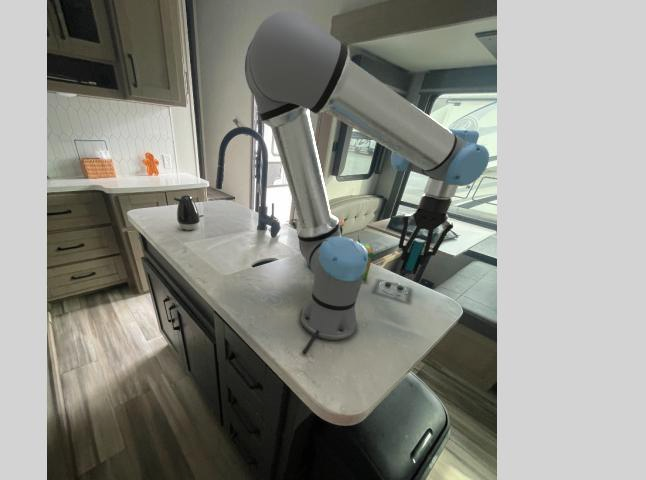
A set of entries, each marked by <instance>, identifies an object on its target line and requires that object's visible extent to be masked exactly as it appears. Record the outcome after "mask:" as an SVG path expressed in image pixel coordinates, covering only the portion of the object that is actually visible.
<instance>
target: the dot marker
mask: <svg viewBox="0 0 646 480" xmlns="http://www.w3.org/2000/svg"><path fill="white" fill-rule="evenodd" d="M425 245H426V240H425V239H422V238H415V239H414V241H413V242H412V244H411V246H410V248H409V250H410V253H409V255H408V258H407V260H406V263H405V266H404V268H403V271H402V273H404V274H406V275H413V271H414V269H415V266H416V264H417V262H418V259H419V257H420V254H421V253H423V251H424V248H425Z"/></svg>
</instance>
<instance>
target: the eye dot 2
mask: <svg viewBox="0 0 646 480" xmlns="http://www.w3.org/2000/svg"><path fill="white" fill-rule="evenodd" d="M404 287H405V286H404ZM404 287H403V285H402V286H401V285H397V286H396V289H397V290H399V291H404V290H405V288H404Z"/></svg>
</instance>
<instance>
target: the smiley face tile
mask: <svg viewBox="0 0 646 480" xmlns="http://www.w3.org/2000/svg"><path fill="white" fill-rule="evenodd" d="M386 282H389V283H393V284H396V285H398V286H402V287H404V290H406V293H404V294H402V295H401V294H392V293H389V292H387V291H386V290H385V289H383V288H382V286H381V285H382V284H385V283H386ZM378 287H379V288H380V290H381V291H382V292H384V293H386V294H387V295H391V296H394V297H405V296H407V295H408V293H409V290H408V288H407V287H406V286H404V285H402V284H400V283H399V282H396V281H391V280H389V281H388V280H384V281H381V282H380V283H379V284H378Z"/></svg>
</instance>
